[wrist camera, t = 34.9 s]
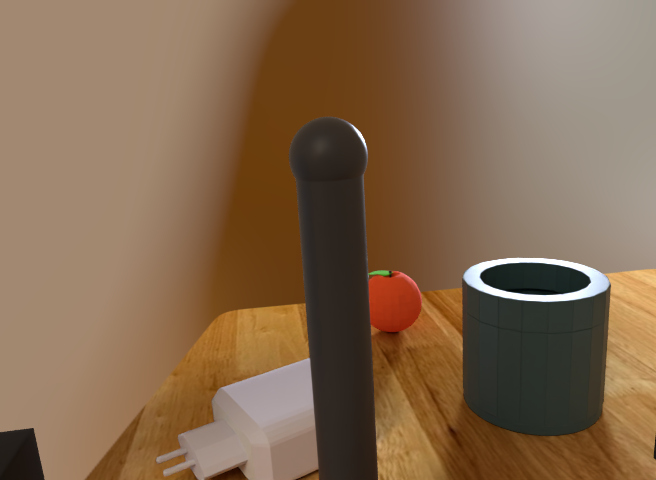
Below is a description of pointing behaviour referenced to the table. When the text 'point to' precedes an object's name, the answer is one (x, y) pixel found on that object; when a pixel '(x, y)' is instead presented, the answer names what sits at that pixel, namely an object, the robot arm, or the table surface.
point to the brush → (337, 294)
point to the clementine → (393, 301)
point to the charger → (256, 429)
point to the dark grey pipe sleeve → (535, 344)
